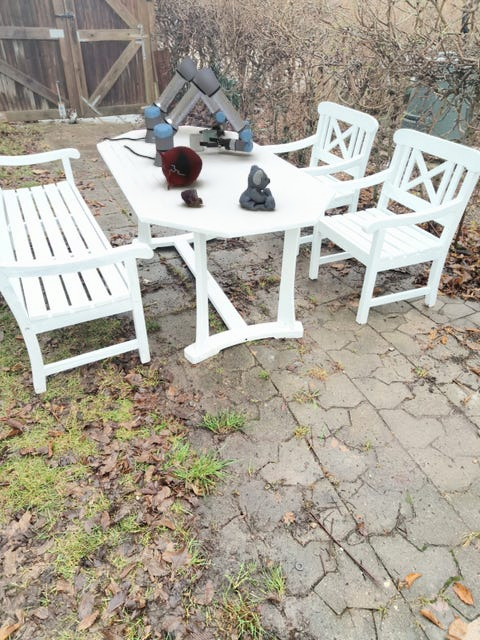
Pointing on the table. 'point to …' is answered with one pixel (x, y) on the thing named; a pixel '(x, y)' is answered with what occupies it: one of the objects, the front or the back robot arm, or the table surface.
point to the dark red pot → (181, 165)
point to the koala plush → (257, 191)
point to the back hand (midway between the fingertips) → (208, 135)
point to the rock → (191, 197)
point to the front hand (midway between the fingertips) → (204, 141)
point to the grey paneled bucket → (196, 142)
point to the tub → (209, 135)
